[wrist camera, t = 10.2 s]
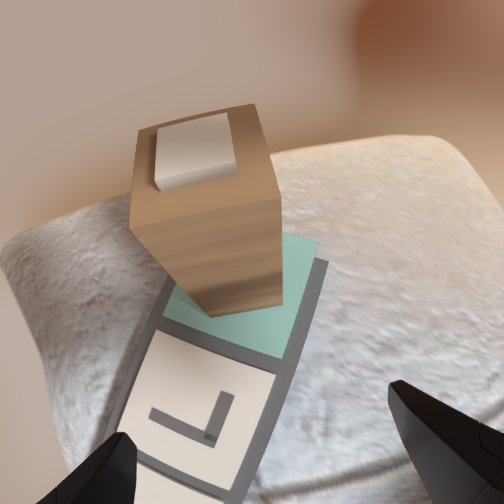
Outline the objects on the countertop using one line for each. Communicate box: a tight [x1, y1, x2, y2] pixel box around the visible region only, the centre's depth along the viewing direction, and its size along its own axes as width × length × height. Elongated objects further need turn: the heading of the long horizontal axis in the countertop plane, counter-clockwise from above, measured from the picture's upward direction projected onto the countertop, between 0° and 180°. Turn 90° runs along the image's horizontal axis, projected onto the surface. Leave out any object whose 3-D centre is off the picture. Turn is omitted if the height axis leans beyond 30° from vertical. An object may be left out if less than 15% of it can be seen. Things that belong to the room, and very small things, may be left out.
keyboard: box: [101, 232, 329, 504], centre depth 17 cm, size 26×10×2 cm, turn 160°
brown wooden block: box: [129, 104, 283, 318], centre depth 14 cm, size 4×4×12 cm
